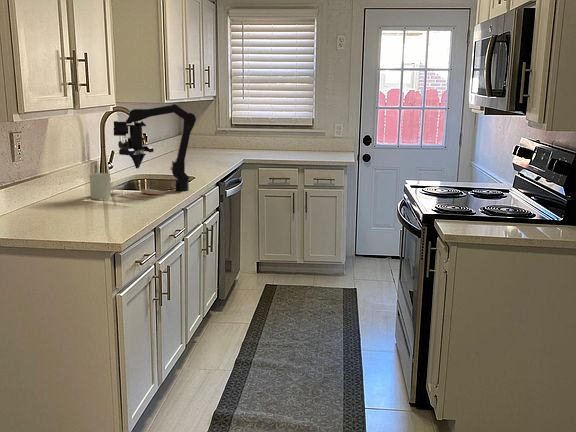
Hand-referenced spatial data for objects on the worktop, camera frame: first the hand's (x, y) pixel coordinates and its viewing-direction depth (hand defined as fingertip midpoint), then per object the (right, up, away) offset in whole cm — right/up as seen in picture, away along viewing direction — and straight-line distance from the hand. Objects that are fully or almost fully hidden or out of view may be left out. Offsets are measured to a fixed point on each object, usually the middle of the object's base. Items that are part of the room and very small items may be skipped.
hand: (137, 168), depth 279 cm
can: (-14, -15, -12) cm, 24 cm away
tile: (+6, -11, -5) cm, 14 cm away
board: (+4, -15, -9) cm, 18 cm away
